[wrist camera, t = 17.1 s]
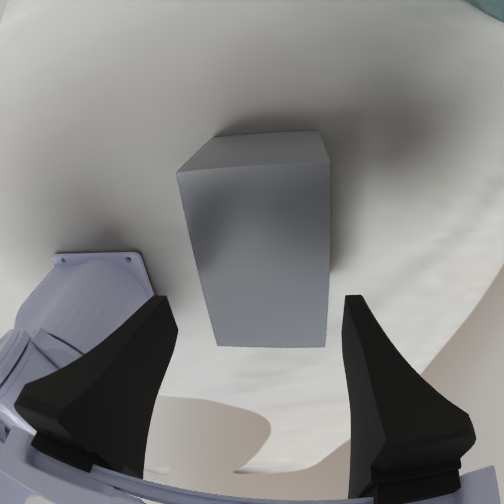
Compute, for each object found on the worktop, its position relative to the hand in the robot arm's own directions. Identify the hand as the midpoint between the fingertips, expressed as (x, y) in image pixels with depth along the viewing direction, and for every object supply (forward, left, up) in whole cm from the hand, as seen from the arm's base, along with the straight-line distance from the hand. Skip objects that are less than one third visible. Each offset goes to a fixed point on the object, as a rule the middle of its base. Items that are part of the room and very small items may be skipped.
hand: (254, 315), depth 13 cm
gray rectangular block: (0, 0, -9) cm, 9 cm away
